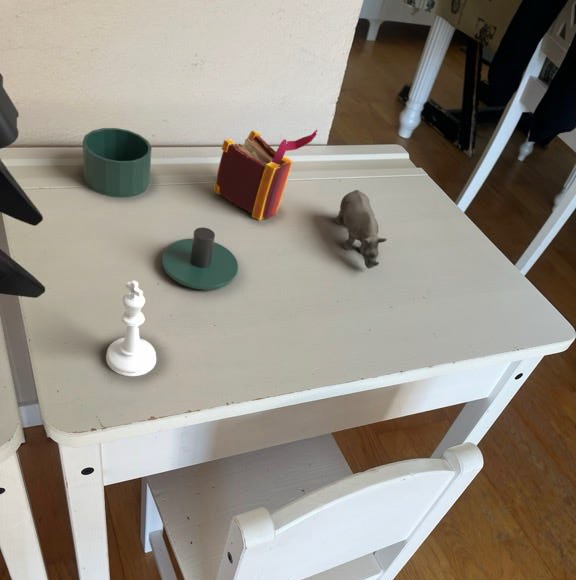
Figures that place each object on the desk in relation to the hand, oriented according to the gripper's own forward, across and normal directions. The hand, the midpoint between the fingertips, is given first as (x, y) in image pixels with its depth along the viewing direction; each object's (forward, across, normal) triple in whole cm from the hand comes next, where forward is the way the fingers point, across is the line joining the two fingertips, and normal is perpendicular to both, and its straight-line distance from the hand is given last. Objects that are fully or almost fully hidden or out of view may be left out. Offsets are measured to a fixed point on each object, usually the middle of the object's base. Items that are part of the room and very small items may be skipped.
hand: (40, 255), depth 51 cm
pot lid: (+21, +14, -3) cm, 26 cm away
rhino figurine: (+37, +19, -18) cm, 45 cm away
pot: (+16, +33, +3) cm, 37 cm away
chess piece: (+15, 0, +4) cm, 15 cm away
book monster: (+30, +30, -11) cm, 43 cm away
